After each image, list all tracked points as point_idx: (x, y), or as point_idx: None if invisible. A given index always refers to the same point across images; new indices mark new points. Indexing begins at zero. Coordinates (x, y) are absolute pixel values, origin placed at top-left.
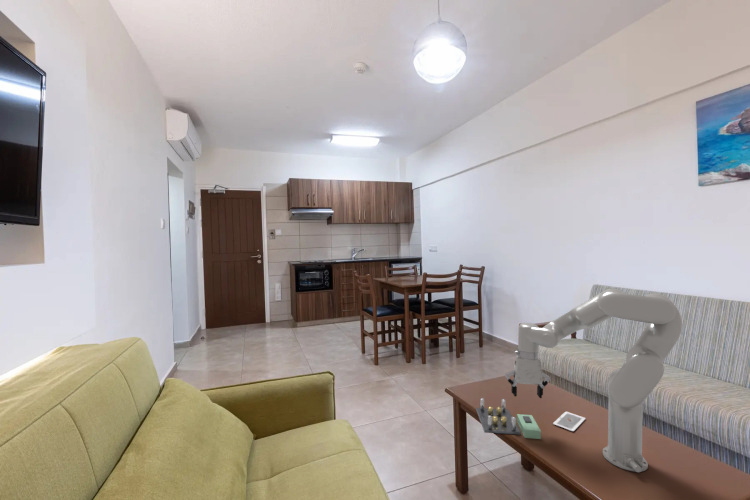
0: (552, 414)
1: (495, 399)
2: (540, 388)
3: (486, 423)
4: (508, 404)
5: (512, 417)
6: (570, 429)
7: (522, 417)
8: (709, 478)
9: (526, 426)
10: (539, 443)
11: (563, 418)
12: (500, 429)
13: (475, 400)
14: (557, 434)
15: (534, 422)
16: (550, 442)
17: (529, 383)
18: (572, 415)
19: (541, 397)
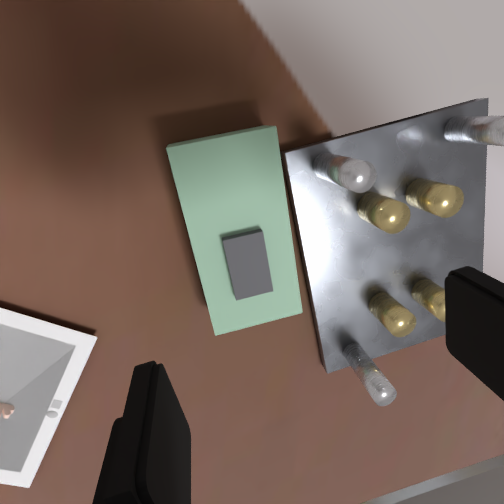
0: (101, 434)
1: (367, 446)
2: (133, 495)
3: (462, 181)
4: (313, 430)
5: (370, 174)
6: None
7: (273, 285)
8: None
9: (258, 177)
10: (177, 85)
11: (38, 414)
12: (398, 140)
13: (457, 399)
14: (69, 239)
15: (204, 251)
16: (110, 124)
17: (457, 491)
18: None
19: (136, 368)
